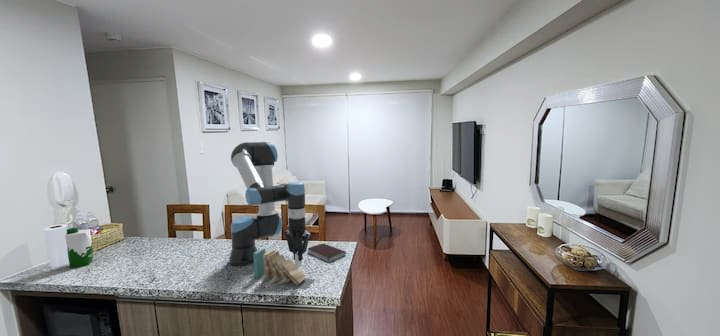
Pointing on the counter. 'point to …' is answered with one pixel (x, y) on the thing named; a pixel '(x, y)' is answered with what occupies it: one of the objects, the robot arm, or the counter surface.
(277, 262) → the light wood flat block
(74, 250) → the milk carton
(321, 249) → the book
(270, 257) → the beige wooden block
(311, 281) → the runner mat
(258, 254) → the tile
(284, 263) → the tile
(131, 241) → the counter surface
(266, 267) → the light wood flat block
